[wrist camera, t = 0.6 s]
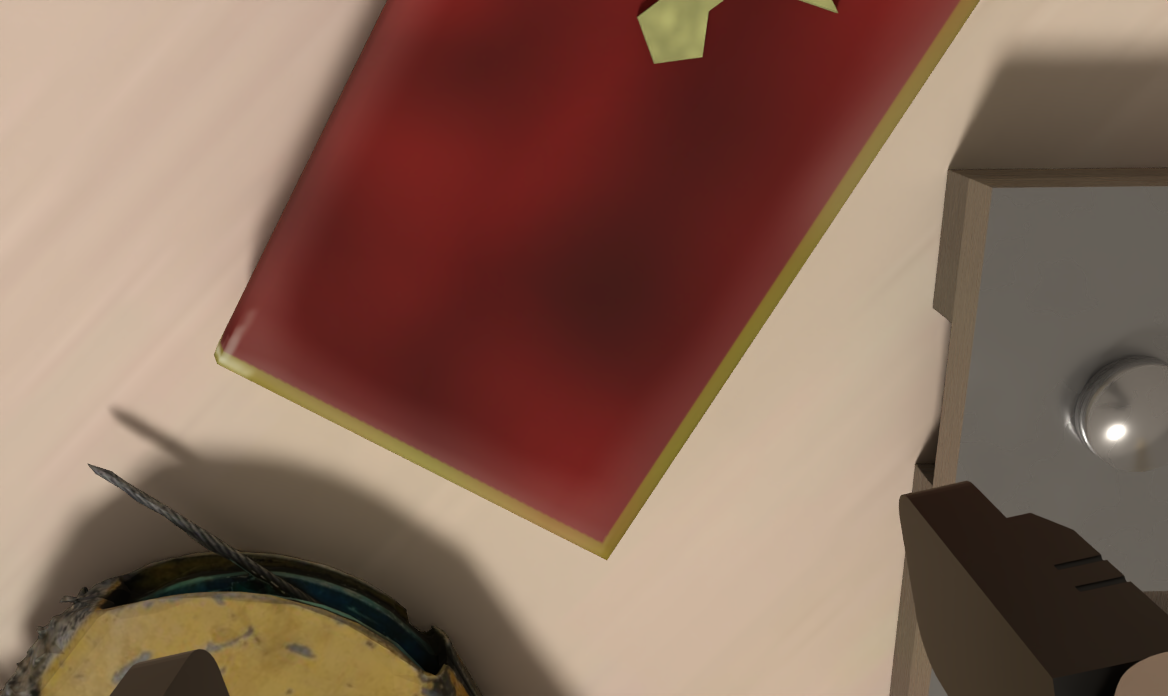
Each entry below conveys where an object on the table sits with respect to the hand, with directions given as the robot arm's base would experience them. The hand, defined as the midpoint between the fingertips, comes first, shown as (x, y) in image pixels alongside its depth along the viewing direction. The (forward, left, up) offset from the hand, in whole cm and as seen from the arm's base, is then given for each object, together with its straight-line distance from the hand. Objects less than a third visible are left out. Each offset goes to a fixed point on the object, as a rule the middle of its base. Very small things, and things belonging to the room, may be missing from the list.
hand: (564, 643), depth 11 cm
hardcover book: (-5, +1, -19) cm, 19 cm away
